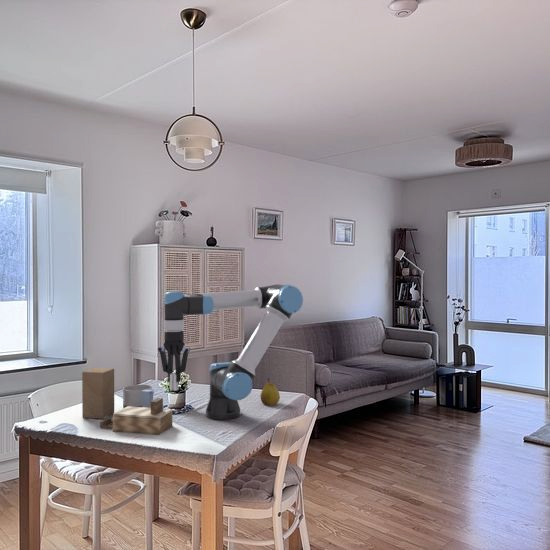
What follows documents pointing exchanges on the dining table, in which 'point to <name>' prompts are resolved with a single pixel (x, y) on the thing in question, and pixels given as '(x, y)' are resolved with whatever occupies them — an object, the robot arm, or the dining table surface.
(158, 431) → the wooden box
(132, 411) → the lid
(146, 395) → the light blue block
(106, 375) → the wooden block
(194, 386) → the dining table surface
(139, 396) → the planter
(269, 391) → the fruit
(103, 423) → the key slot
